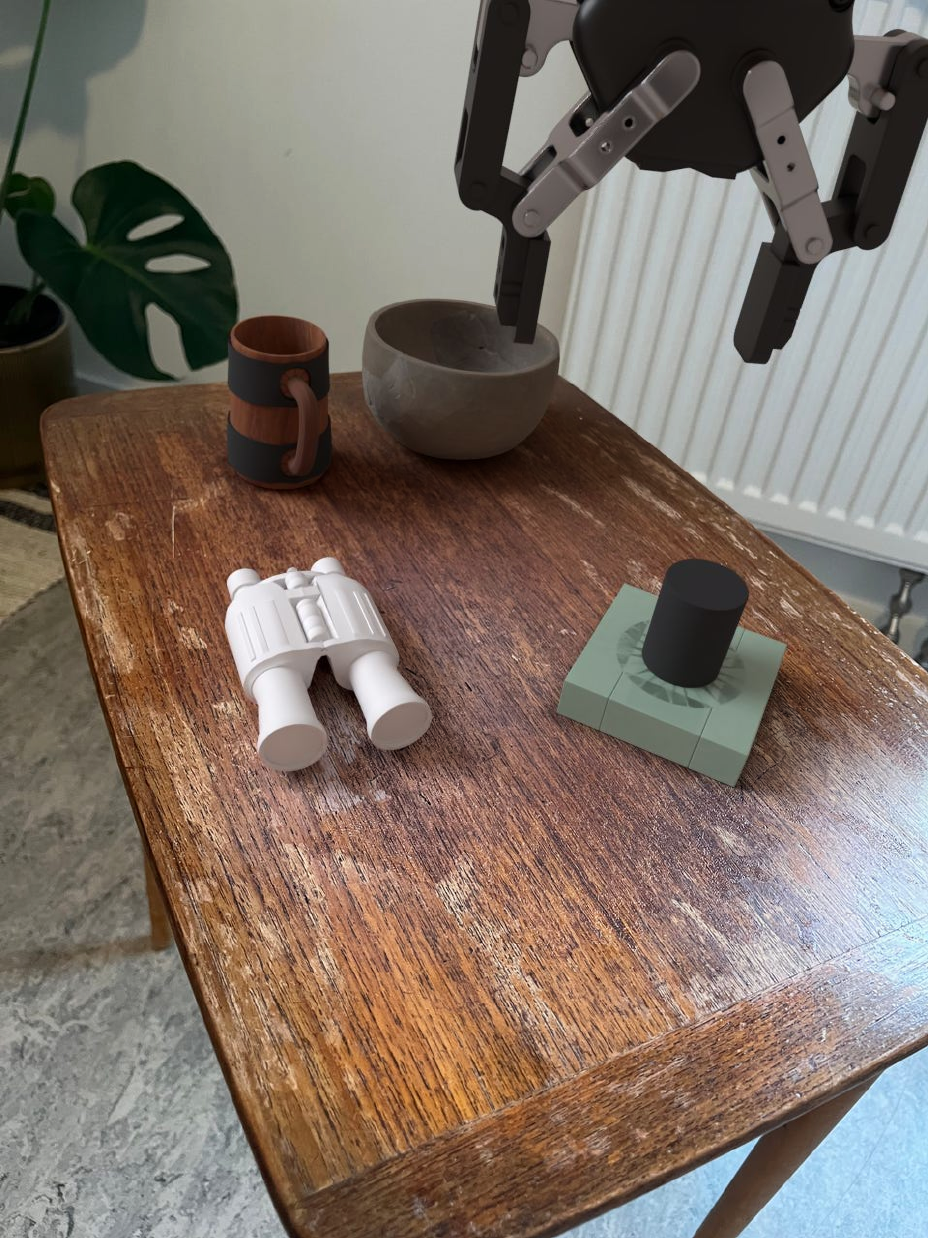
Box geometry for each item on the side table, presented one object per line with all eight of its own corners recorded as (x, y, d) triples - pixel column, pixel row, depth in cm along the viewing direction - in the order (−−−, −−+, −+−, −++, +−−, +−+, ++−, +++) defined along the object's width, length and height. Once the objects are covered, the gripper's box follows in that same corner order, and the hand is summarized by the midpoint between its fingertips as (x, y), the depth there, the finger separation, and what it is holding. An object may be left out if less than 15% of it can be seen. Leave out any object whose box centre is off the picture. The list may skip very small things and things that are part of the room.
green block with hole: (773, 675, 68) (787, 644, 66) (734, 788, 60) (748, 755, 58) (615, 614, 71) (624, 582, 70) (556, 713, 63) (564, 679, 61)
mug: (258, 523, 75) (254, 386, 67) (215, 447, 83) (208, 316, 75) (361, 505, 78) (368, 373, 71) (310, 433, 86) (312, 307, 79)
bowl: (470, 376, 99) (482, 280, 92) (583, 459, 89) (605, 357, 82) (321, 408, 90) (324, 305, 84) (428, 504, 80) (440, 394, 73)
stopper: (716, 682, 66) (757, 576, 61) (696, 728, 63) (738, 621, 57) (645, 654, 68) (678, 548, 62) (621, 698, 64) (655, 590, 58)
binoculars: (260, 783, 56) (258, 727, 53) (210, 610, 67) (206, 555, 64) (430, 747, 59) (437, 693, 56) (356, 588, 70) (359, 536, 67)
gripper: (523, -318, 21) (445, 378, 31) (1124, -217, 22) (861, 409, 33) (492, -293, 26) (435, 288, 37) (973, -214, 28) (789, 319, 39)
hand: (636, 345), depth 35 cm, fingers open, 8 cm apart
